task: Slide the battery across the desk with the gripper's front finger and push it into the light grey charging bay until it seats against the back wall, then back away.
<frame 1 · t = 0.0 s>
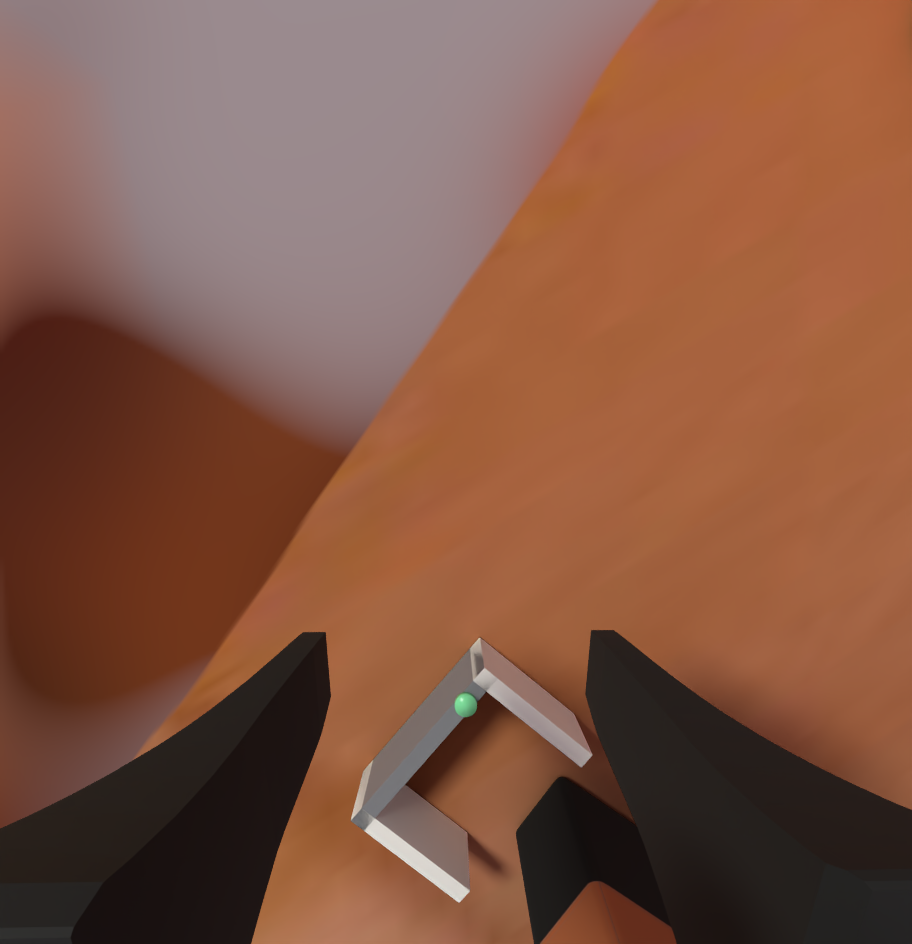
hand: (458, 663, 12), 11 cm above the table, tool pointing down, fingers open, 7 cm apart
battery: (583, 829, 24), on the table
charging bay: (472, 745, 23), on the table
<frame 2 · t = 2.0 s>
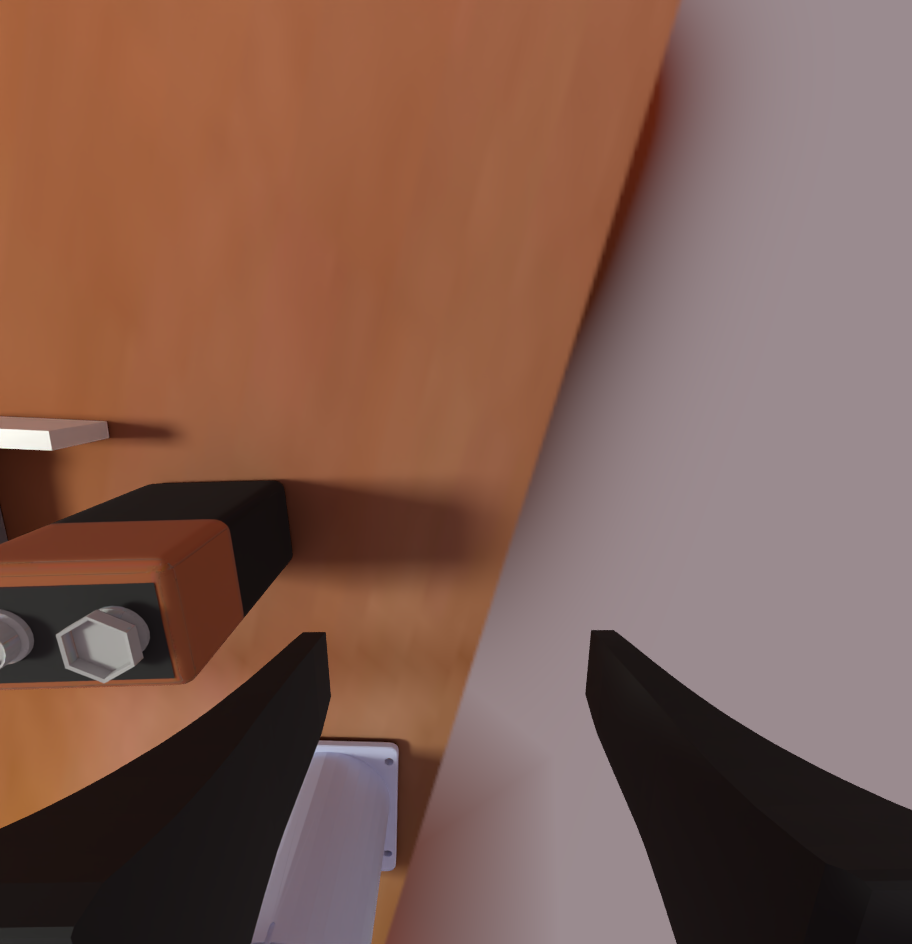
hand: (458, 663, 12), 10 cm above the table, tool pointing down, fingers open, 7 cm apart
battery: (225, 520, 22), on the table
charging bay: (59, 515, 21), on the table
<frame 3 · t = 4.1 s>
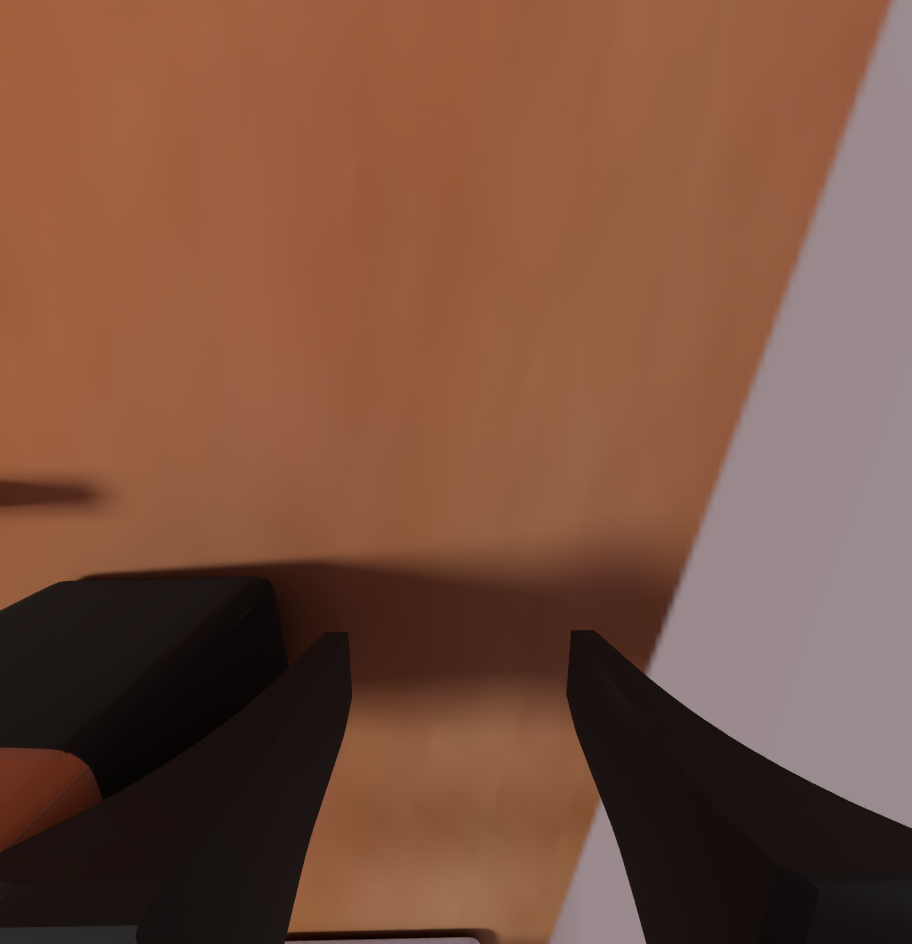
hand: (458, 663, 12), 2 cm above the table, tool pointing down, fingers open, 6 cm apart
battery: (187, 634, 13), on the table, touching gripper
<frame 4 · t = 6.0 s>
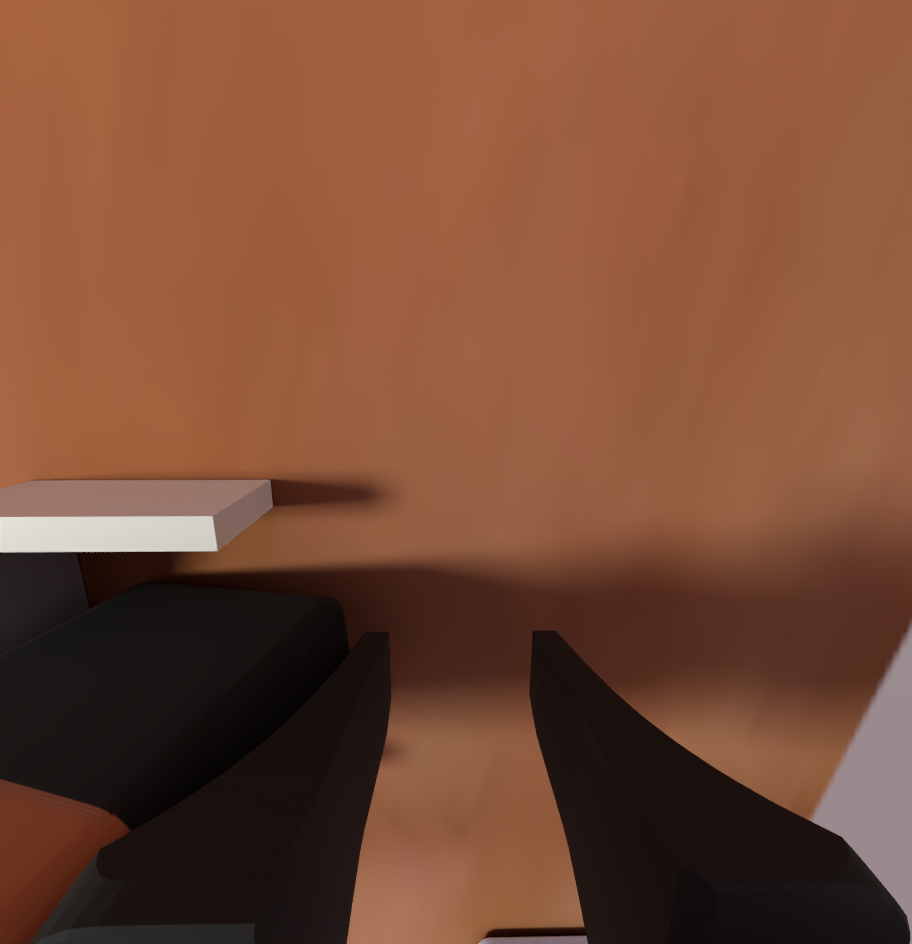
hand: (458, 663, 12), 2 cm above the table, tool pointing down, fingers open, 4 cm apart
battery: (258, 645, 12), point 1 cm above the table, touching gripper
charging bay: (187, 631, 13), on the table
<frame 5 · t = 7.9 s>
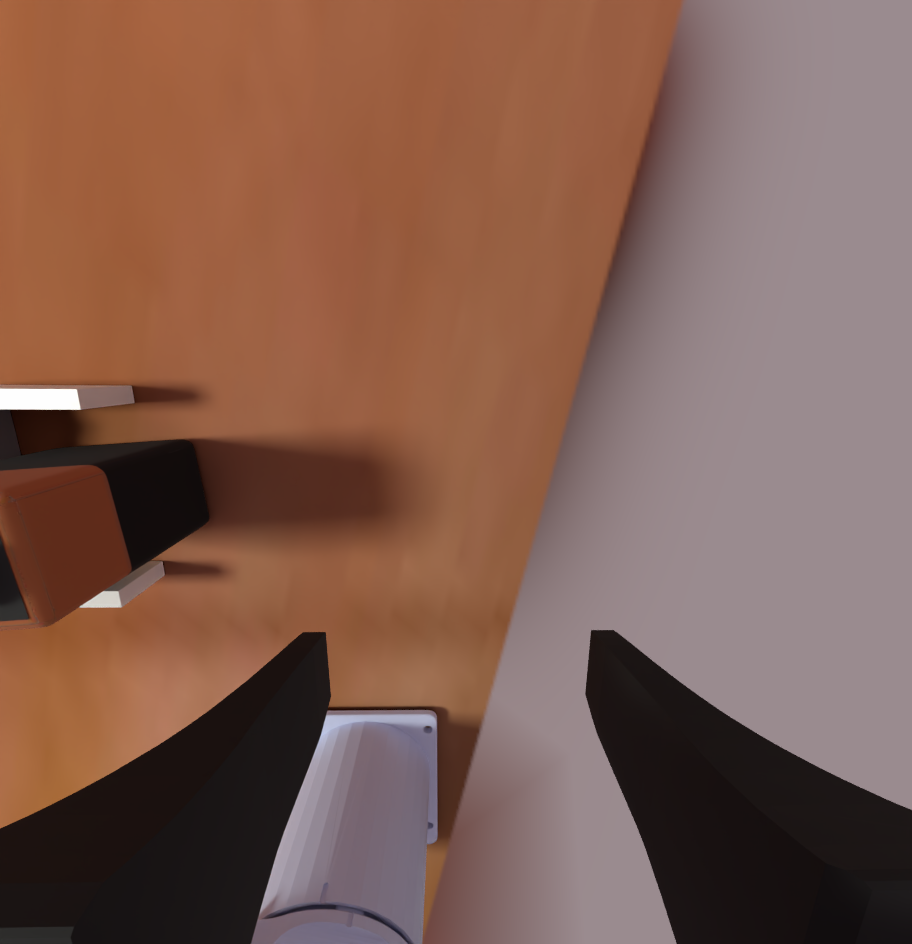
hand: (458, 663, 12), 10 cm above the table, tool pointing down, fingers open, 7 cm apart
battery: (139, 484, 21), on the table
charging bay: (86, 485, 21), on the table
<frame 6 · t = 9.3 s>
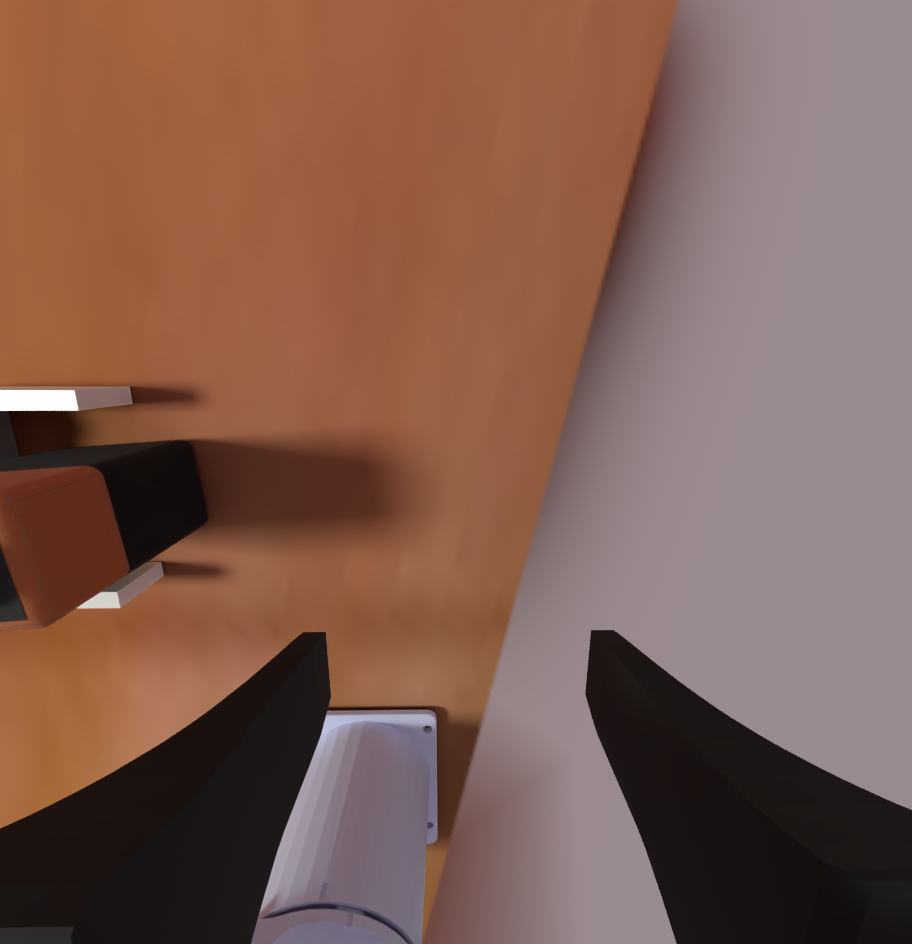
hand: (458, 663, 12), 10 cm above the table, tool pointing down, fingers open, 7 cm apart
battery: (138, 485, 21), on the table
charging bay: (85, 486, 21), on the table
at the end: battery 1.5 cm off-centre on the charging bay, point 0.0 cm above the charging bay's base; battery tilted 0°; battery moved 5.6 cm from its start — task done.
